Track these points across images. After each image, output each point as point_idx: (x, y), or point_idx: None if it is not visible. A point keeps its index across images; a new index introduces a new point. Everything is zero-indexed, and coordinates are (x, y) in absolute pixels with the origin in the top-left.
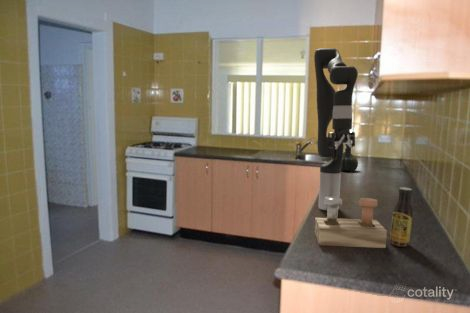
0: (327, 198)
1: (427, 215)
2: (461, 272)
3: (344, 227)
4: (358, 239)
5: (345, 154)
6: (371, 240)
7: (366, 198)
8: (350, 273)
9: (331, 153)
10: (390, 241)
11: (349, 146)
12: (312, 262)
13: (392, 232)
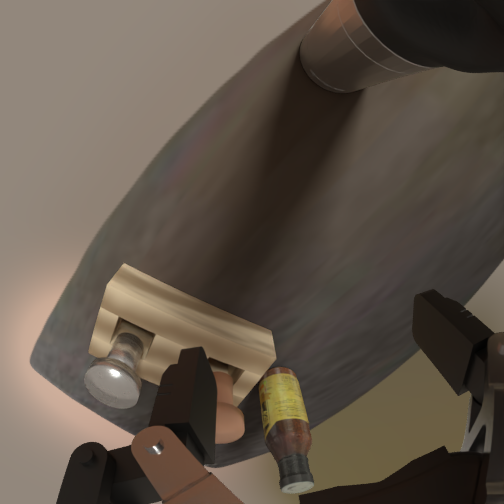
0: (93, 381)
1: (500, 253)
2: (265, 450)
3: (147, 371)
4: None
5: (428, 308)
6: None
7: (223, 421)
8: (110, 412)
9: (158, 395)
10: (261, 377)
11: (471, 408)
12: (68, 371)
13: (260, 397)
